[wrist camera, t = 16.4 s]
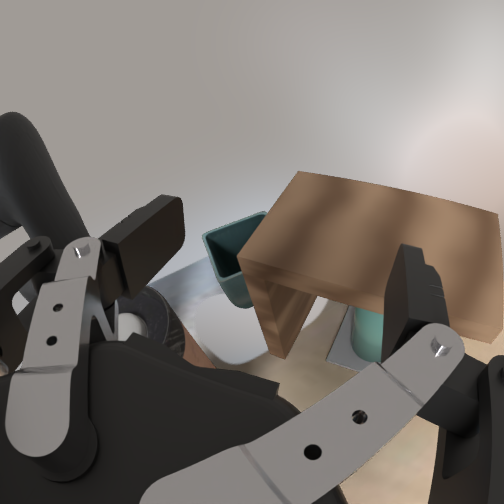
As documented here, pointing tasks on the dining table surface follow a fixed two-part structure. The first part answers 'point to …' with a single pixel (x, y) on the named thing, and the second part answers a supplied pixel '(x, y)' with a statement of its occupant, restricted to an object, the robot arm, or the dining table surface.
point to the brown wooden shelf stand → (368, 254)
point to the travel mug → (158, 325)
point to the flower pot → (231, 256)
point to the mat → (346, 346)
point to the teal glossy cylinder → (367, 335)
